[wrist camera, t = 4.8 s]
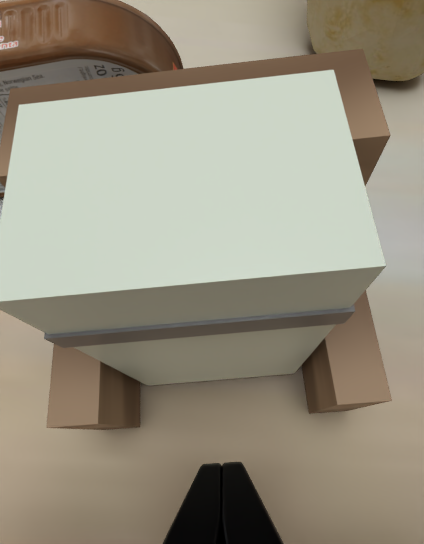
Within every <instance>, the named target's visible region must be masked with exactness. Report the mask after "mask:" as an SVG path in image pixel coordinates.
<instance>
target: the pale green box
mask: <svg viewBox="0 0 424 544" xmlns="http://www.w3.org/2000/svg"><path fill="white" fill-rule="evenodd" d="M385 267H386V264H385V260H384V256H383V252H382V249H381V245H380V241H379V237H378V234H377V230H376V226H375V222H374V219H373V215H372V211H371V207H370V204H369V200H368V196H367V192H366V189H365V185H364V181H363V177H362V174H361V170H360V166H359V162H358V159H357V155H356V151H355V147H354V144H353V140H352V136H351V132H350V129H349V125H348V121H347V117H346V114H345V110H344V106H343V102H342V99H341V95H340V91H339V88H338V84H337V80H336V76H335V73H334V70H326V71H317V72H308V73H299V74H290V75H281V76H272V77H263V78H254V79H245V80H236V81H227V82H218V83H209V84H201V85H192V86H183V87H174V88H165V89H156V90H147V91H138V92H129V93H120V94H111V95H102V96H93V97H84V98H75V99H67V100H58V101H49V102H40V103H31V104H22V105H19V107H18V113H17V120H16V126H15V132H14V138H13V144H12V151H11V157H10V163H9V169H8V175H7V182H6V188H5V194H4V200H3V206H2V212H1V219H0V310H2V311H4V312H6V313H8V314H10V315H12V316H14V317H16V318H18V319H19V320H21V321H23V322H25V323H27V324H29V325H31V326H33V327H35V328H37V329H39V330H41V331H43V332H45V336H44V339H46V340H48V341H50V342H52V343H54V344H56V345H58V346H60V347H62V348H69V347H74V348H76V349H78V350H80V351H82V352H83V353H85V354H87V355H89V356H91V357H93V358H95V359H97V360H99V361H101V362H103V363H105V364H107V365H109V366H111V367H113V368H115V369H116V370H118V371H120V372H122V373H124V374H126V375H128V376H130V377H132V378H134V379H136V380H138V381H140V382H142V383H144V384H146V385H147V386H151V385H163V384H175V383H187V382H200V381H212V380H224V379H236V378H248V377H260V376H272V375H285V374H294V373H295V372H296V371H297V370H298V369H299V367H300V366H301V365H302V364H303V363H304V362H305V360H306V359H307V358H308V357H309V356H310V355H311V353H312V352H313V351H314V350H315V349H316V347H317V346H318V345H319V344H320V343H321V342H322V340H323V339H324V338H325V337H326V336H327V335H328V333H329V332H330V331H331V330H332V329H333V328H334V326H335V325H336V324H344V323H345V322H346V321H347V320H348V319H349V318H350V317H351V316H352V315H353V313H354V312H355V307H354V303H355V302H356V301H357V299H358V298H359V297H360V296H361V295H362V294H363V292H364V291H365V290H366V289H367V288H368V287H369V285H370V284H371V283H372V282H373V281H374V280H375V278H376V277H377V276H378V275H379V274H380V273H381V271H382V270H383V269H384V268H385Z"/></svg>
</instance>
